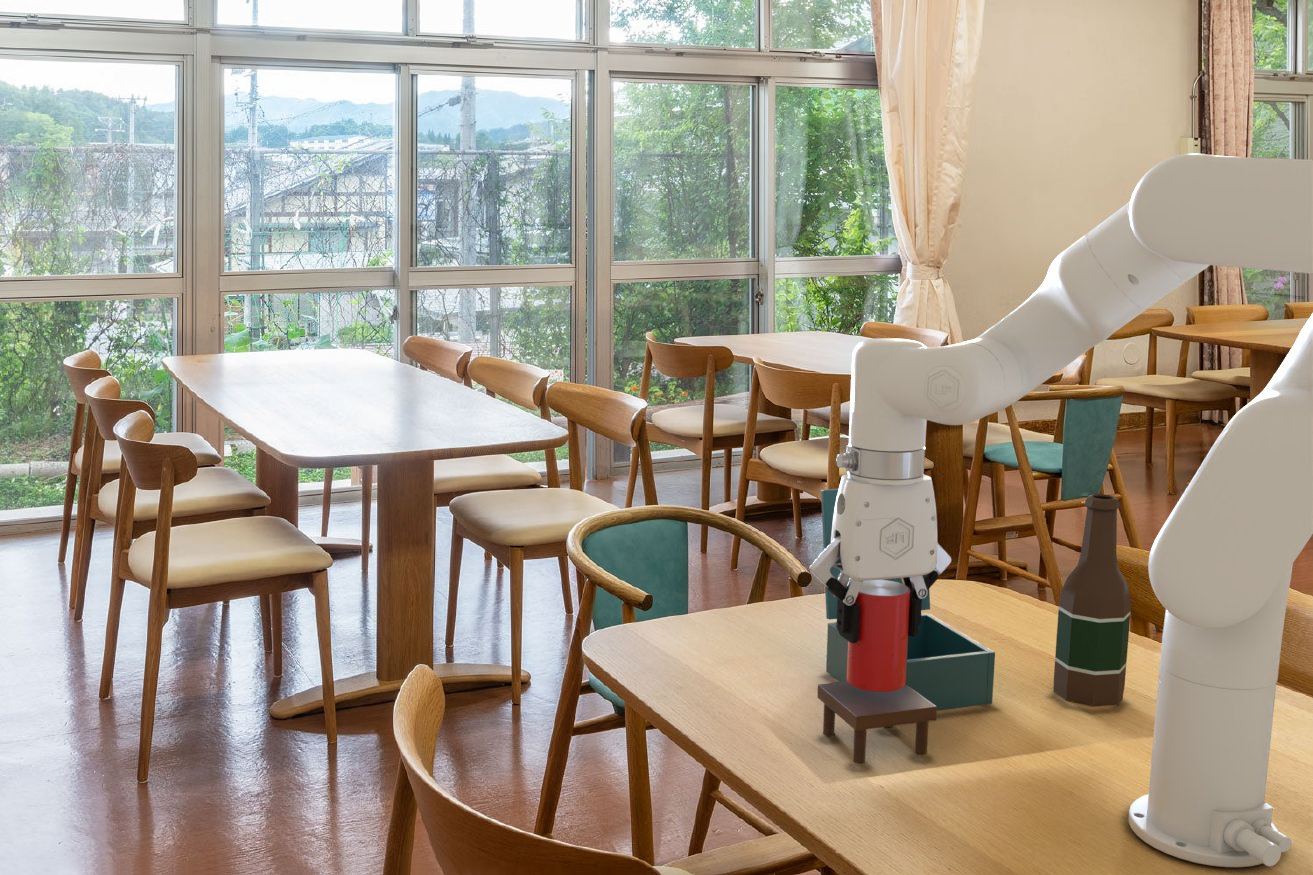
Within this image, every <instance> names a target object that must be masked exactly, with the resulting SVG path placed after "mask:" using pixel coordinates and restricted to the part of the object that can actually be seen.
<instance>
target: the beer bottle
mask: <svg viewBox="0 0 1313 875" xmlns="http://www.w3.org/2000/svg"><path fill="white" fill-rule="evenodd" d="M1084 506H1085V507H1086V512H1085V522H1084V527H1083V528H1084V529H1083V534H1082V542H1081V549H1080V555H1079V559H1078V561H1077V562H1078V563H1077V564H1076V566H1075V567H1074V569H1073V570H1072V571H1071V573H1070V574H1069V575H1068V576H1067V577H1066V580H1065V581H1064V584H1063V585H1062V588H1061V590H1060V596H1059V604H1058V611H1057V612H1058V613H1057V624H1056V626H1057V627H1056V638H1055V639H1056V640H1055V655H1054V667H1053V668H1054V670H1053V692H1054V693H1055V694H1057V696H1059V697H1060V698H1062V699H1063V700H1065V701H1066V702H1069V703H1074V704H1078V705H1084V706H1088V707H1105V706H1107V707H1108V706H1117V707H1118V706H1120V704H1121V703H1122V701H1123V700H1124V693H1125V685H1126V674H1127V660H1128V650H1129V648H1128V647H1129V638H1130V625H1131V622H1130V621H1131V611H1132V610H1131V609H1132V608H1131V605H1132V604H1131V603H1132V602H1131V600H1132V599H1131V596H1132V595H1131V592H1130V589H1129V584H1128V582H1127V580H1126V578H1125V577H1124V575H1123V574H1122V572H1121V570H1120V568H1119V564H1118V556H1117V555H1118V554H1117V545H1118V544H1117V542H1118V541H1117V538H1118V536H1117V534H1118V531H1117V530H1118V528H1117V527H1118V509H1119V508H1121V503H1120V498H1118V497H1115V496H1113V495H1110V494H1104V493H1093V494H1090V495H1088V496H1087V497H1086V499H1085V502H1084Z"/></svg>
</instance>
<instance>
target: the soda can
mask: <svg viewBox="0 0 1313 875" xmlns="http://www.w3.org/2000/svg"><path fill="white" fill-rule="evenodd" d="M855 603H856V604H857V605H859V606H860V623H859V641H857V643H850V642H849V641H848V659H847V681H848V683H849V684H851V685H852V686H854V687H856V688H859V689H862V690H867V691H873V692H890V691H895V690H899V689H901V688H903V687H904V686H905V684H906V667H907V647H908V626H909V606H910V589H909V587H907V586H906V585H904V584H901V583H898V582H894V581H888V580H868V581H863V583H862V586H861V588H860V591H859V593H858V595H857V598H856V600H855Z"/></svg>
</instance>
